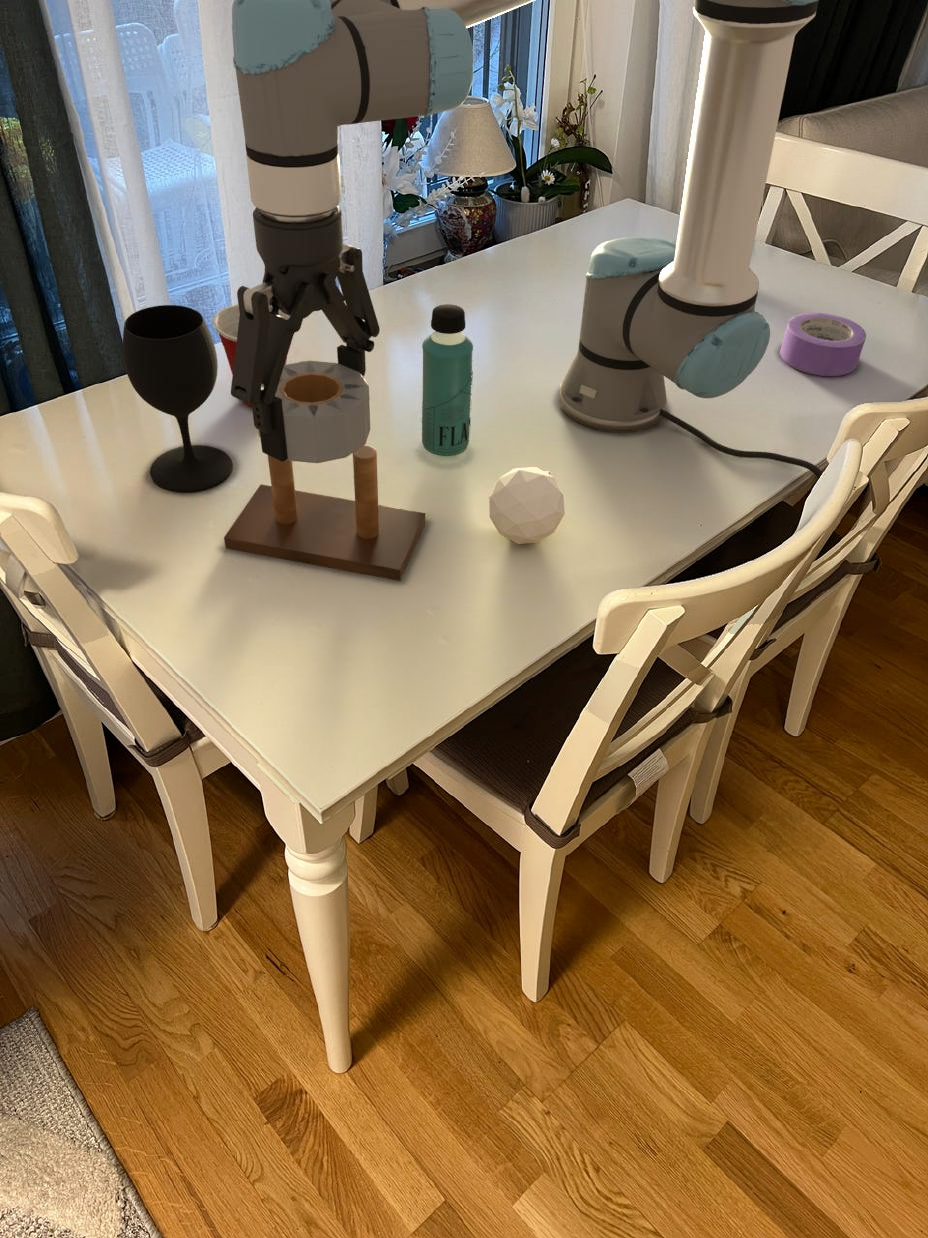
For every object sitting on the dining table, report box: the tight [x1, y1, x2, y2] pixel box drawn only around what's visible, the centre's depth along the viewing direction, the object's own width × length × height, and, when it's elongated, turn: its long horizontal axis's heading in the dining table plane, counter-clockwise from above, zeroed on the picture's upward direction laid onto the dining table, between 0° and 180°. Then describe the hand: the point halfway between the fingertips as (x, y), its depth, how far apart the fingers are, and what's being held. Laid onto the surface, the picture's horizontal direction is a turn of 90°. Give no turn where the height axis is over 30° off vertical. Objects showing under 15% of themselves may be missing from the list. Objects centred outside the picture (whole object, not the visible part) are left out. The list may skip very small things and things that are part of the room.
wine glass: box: [122, 304, 234, 494], centre depth 113 cm, size 10×10×20 cm
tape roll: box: [779, 312, 867, 377], centre depth 147 cm, size 12×12×5 cm
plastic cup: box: [212, 303, 290, 408], centre depth 129 cm, size 11×11×12 cm
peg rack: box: [223, 445, 427, 581], centre depth 107 cm, size 21×11×13 cm, turn 77°
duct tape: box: [257, 360, 371, 464], centre depth 93 cm, size 11×11×5 cm
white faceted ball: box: [488, 466, 566, 545], centre depth 111 cm, size 9×9×12 cm
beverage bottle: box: [420, 303, 474, 457], centre depth 118 cm, size 6×7×20 cm
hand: (315, 430), depth 95 cm, fingers closed on duct tape, 11 cm apart
